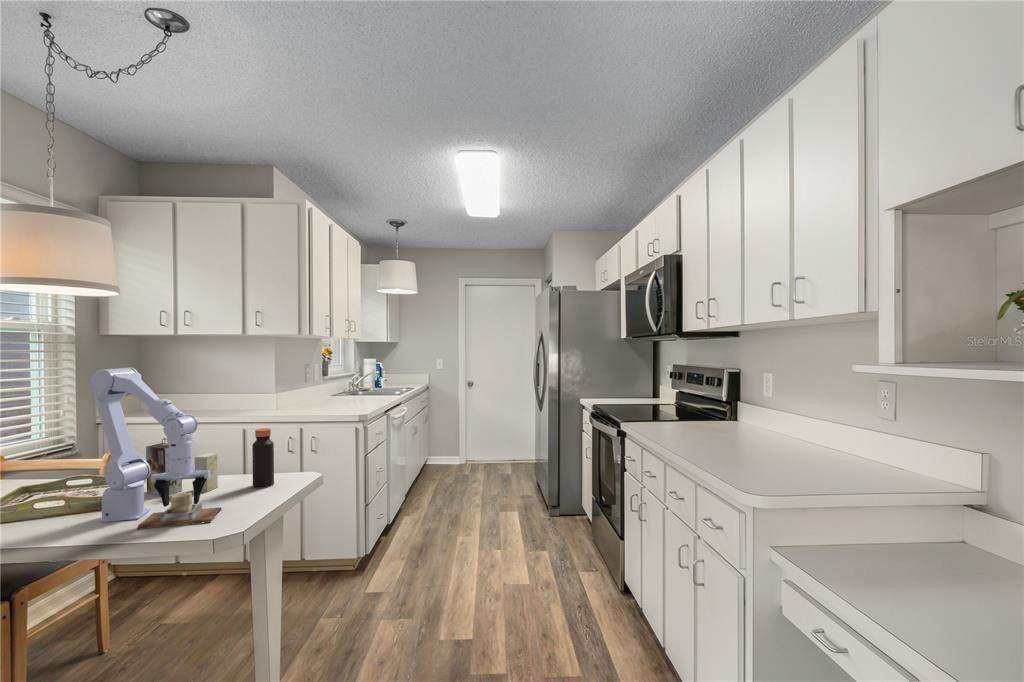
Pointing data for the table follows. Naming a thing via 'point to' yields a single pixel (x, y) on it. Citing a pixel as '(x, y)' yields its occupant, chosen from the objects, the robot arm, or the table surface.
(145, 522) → the socket stand
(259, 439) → the bottle
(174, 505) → the peg
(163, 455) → the coffee box
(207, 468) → the skincare box
